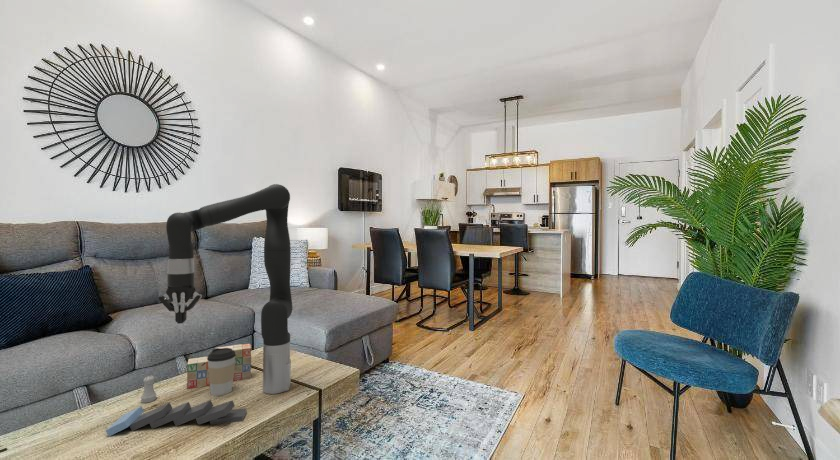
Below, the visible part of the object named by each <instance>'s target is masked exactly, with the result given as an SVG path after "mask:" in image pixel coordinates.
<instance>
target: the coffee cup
mask: <svg viewBox="0 0 840 460" xmlns="http://www.w3.org/2000/svg"><path fill="white" fill-rule="evenodd" d="M235 356H236V354H235V351H233V350H232V349H231V348H221V349H219V348H218V347H215V348H214V349H212V350H211V352H210V354H208V355H207V357H208V358H207V360H208V373H209V383H210V385H209V390H210V395H211V396H213V397H217V396H224V395H226V394H229V393H230V392H232V390H233V382H234V381H233V378H234V368H235Z"/></svg>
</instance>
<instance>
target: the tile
mask: <svg viewBox="0 0 840 460" xmlns="http://www.w3.org/2000/svg"><path fill="white" fill-rule="evenodd" d="M144 413H145V411H144V408H143V407H142V406H138V407H136V408H134V409H133V410H130V411H128V412H126V413H124V414H123V415H121V417H119V418H118V419H117V420H115V421H114V422H113V424H111V425H110V426H109V427H108V428H106V429H105V433H106V434H107V436H108V437H111V436H113V435H116V433H118V432H121V431H123V430H125V429H127V428H129V427H130V426H129V425H131V424H132V423H133V422H134V421H135V420H136V419H137V418H138V417H139V416H140V415H142V414H144Z"/></svg>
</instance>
